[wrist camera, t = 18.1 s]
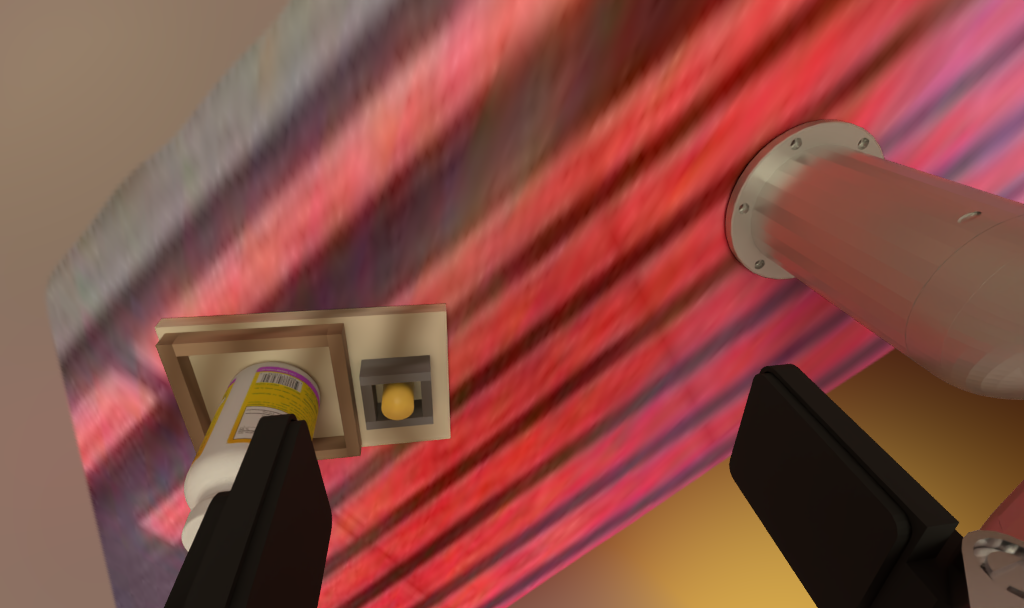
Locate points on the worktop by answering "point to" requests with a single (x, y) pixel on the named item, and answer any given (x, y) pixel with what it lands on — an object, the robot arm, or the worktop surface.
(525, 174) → the worktop surface
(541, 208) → the worktop surface
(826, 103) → the worktop surface
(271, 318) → the beige tray
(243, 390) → the supplement bottle
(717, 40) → the worktop surface
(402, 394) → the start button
